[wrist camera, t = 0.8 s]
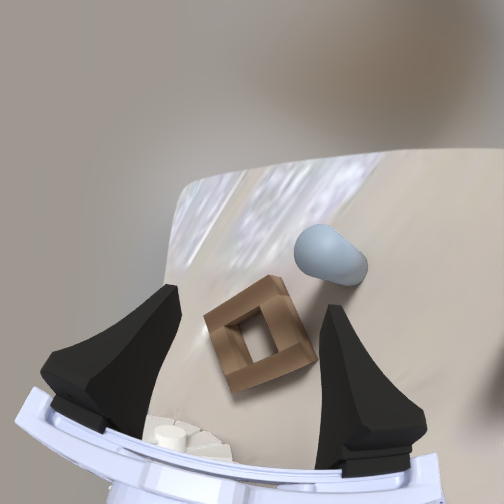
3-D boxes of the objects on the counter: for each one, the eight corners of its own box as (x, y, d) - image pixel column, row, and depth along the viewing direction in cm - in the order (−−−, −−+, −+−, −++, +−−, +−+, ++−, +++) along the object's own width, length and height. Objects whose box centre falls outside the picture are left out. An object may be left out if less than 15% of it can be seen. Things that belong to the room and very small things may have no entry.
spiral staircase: (252, 422, 36) (238, 527, 31) (144, 398, 38) (147, 503, 33) (225, 487, 18) (214, 592, 13) (71, 431, 21) (100, 550, 16)
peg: (374, 273, 27) (353, 258, 19) (342, 293, 29) (307, 287, 21) (356, 242, 29) (327, 214, 21) (326, 261, 30) (285, 242, 22)
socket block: (318, 359, 29) (308, 364, 26) (246, 388, 33) (232, 394, 30) (281, 277, 33) (268, 274, 31) (218, 315, 37) (203, 315, 35)
